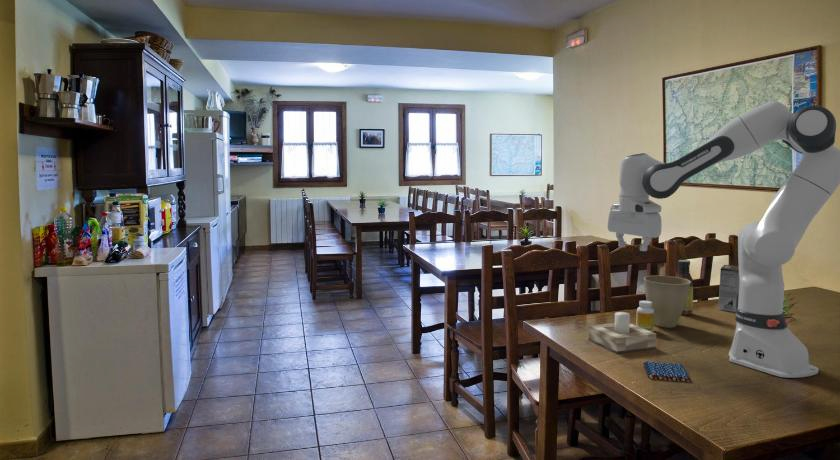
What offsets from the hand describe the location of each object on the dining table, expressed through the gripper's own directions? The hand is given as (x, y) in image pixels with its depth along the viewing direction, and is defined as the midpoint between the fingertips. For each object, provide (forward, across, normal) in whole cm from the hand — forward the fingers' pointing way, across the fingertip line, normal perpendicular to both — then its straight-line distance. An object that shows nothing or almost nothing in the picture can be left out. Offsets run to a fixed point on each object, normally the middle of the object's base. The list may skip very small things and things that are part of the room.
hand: (632, 248), depth 188 cm
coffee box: (+29, -13, +60) cm, 68 cm away
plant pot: (+29, -6, +20) cm, 36 cm away
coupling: (+28, +5, -8) cm, 30 cm away
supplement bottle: (+29, -4, +9) cm, 31 cm away
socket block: (+29, +5, -8) cm, 30 cm away
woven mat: (+30, +30, -15) cm, 45 cm away
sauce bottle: (+29, -14, +38) cm, 50 cm away
